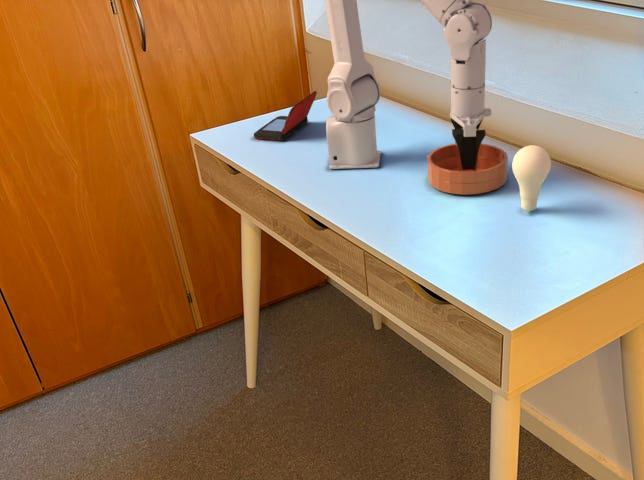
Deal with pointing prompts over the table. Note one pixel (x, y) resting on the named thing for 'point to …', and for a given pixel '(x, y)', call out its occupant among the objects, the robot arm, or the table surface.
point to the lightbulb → (530, 173)
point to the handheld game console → (287, 121)
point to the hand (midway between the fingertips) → (467, 162)
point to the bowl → (467, 182)
